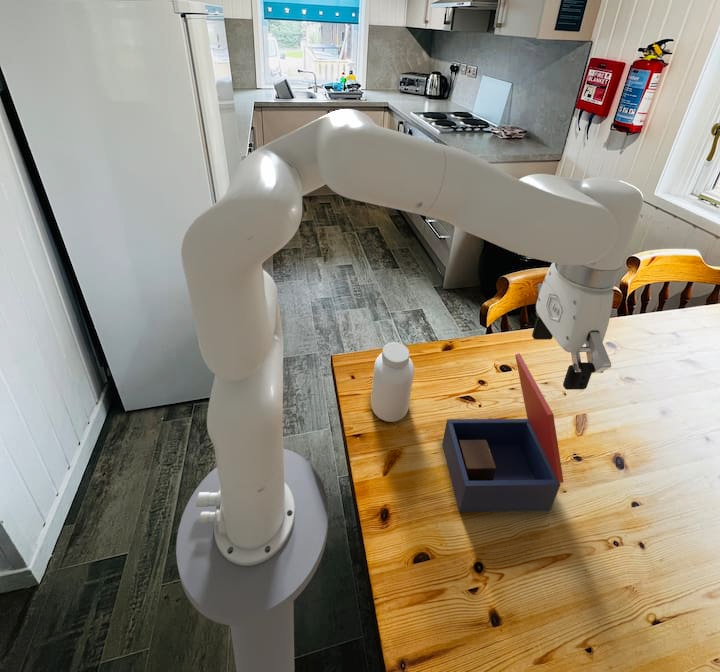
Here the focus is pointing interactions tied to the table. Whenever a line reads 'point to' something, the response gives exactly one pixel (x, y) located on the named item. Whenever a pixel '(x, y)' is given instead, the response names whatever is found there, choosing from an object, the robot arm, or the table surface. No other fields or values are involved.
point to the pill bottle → (392, 382)
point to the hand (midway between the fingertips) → (556, 361)
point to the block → (477, 460)
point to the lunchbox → (501, 467)
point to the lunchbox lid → (540, 417)
